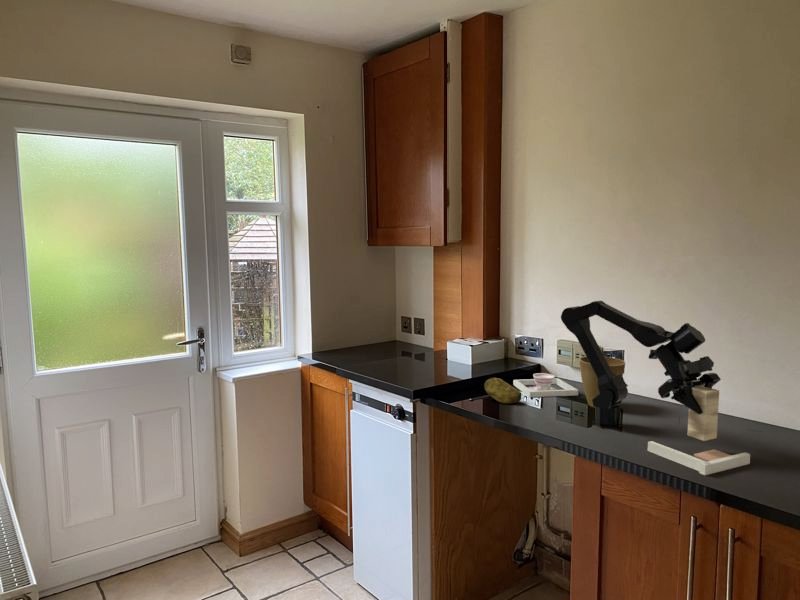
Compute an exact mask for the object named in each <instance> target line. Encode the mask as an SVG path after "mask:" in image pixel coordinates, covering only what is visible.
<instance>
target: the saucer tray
mask: <svg viewBox="0 0 800 600" xmlns="http://www.w3.org/2000/svg"><path fill="white" fill-rule="evenodd" d="M512 383H513V384H512V385H513V387H515V388H516V389H517V390H519V391H520V392H522V393H524V394H525V395H527V396H528V397H529V398H543V397H544V398H546V397H567V396H568V397H570V396H579V389H578V388H575V387H574V386H572V385H570V384H569V383H567V382H566V381H564V380H563V379H560V378H558V377H557V378H556V377H554V379H553V380H552V383H551V385H558V386H559V387H561V388H562V389H558V390H544V391H539V390H537V391H531V390H530V389H529V387H527V386H536V383H535V380H534V378H531V379H529V378H528V379H513V381H512Z"/></svg>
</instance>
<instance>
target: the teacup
mask: <svg viewBox="0 0 800 600" xmlns="http://www.w3.org/2000/svg"><path fill="white" fill-rule="evenodd" d="M532 376H533V379H534V380H535V383H536V385H533V386H530V387H528V388H529V389H530V390H531V391H544V390H559V389H557V388H555V387H552V384H551V383H552V380H553V379H554V378H556V375H554V374H550V373H544V372H541V373H540V372H539V373H538V372H537V373H533V374H532Z"/></svg>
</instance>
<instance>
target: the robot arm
mask: <svg viewBox="0 0 800 600" xmlns="http://www.w3.org/2000/svg"><path fill="white" fill-rule="evenodd" d="M594 316H597V317H598V318H601V319H603V320H605V321H606V322H609V323H611V324H613V325H615V326H616V327H618V328H620V329H622V330H624V331H626V332H627V333H628V334H630V335H631V336H632V337H633V338H634V340H635V341H637V342H639V344H641V345H642V346H644V347H646V348H652V347H656V346H658V345H660V346H658V347H657V348H655V349H650V350H649V354H648V359H649V360H657V359H658V361H659V362H660V364H661V365H662V366H663V368H664V369H665V372H663V374H664V375H665V376H666V377H670V378H668V379H667V380H666V381H665V382H663V383H662V384H661V385H660V386H659V387H658V388H657V393H658V395H659V396H660V398H661V399H667V398H669V397H670V396H671V392H672V396H671V397H670V399H671V400H675V401H676V402H678V403H680V404H682V405H683V406H685V407H687V408H688V409H689V408H690V409H691V410H693V411H694V412H696V413H698V414H702V413H703V412H702V410H701V408H700V406H699V404H698V403H697V401H696V399H695V398H694V396H693V394H692V388H694V387H700V386H704V387H708V388H712V389H713V387H714V386H715V385H716V384H717V383H719V382H720V381H721V379H722V378H721V377H720V376H719V375H718V374H717V373H716V372H710V371H713V368H714V363H715V362H714V361H713V360H712V359H711V357H710V356H708V355H706V356H703V357H699V359H697V360H694V361H691V360H689V359H686V360H685V358H684V357H683V355H682V354H685V355H687V354H690V353H691V352H693V351H694V350H696V349H697V348H698V347H700V346H702V344H704V343H705V342H706V338H705V336H704V334H703V333H702V332H701V331H700V330H698V329H697V328H696V327H694V326H693V325H692V326H691V324H690V323H688V322H687V323H683V324H682V325H681V327H680V328H679V329H678V330H676V331H674V332H672V331H669V330H666V329H665V328H664V327H663V326H661V325H659V324H655V323H652V322H648V321H644V320H640V319H637V318H635V317H633V316H631V315H629V314H627V313H625V312H623V311H621V310H619V309H617V308H615V307H613V306H612V305H609V304H608V303H606V302H605V301H603V300H594V301H591V302H590V303H589V302H588V303H586V304H584V305H581V306H579V305H577V306H571V307H567V308H564V309H563V310H562V311H561V315H560V319H561V322H562V323H563V324H564V326H565V328H566V329H567V330H568V331H569V332H570V333H572V335H574V336H575V337H576V339H577V341H578V343H579V345H580V347H581V349H582V351H583V353H584V354H585V356H586V357H587V359H588V361H589V363H590V364H591V366H592V368H593V370H594V372H595V374H596V376H597V383H598V390H599V393H600V394H599V395H598V396H596V397H595V398H594V399H593V400H592V402H593V405H594V407H595V408H594V407H593V408H594V419H592V420H591V421H592V424H594V425H596V426H597V427H599V428H601V429H614V428H616V429H617V428H622V425H621V424H620V423H621V410H620V405H621V404H622V402H623V400H625V399H626V398H627V397H628V393H629V390H628V387H629V385H628V384H627V383H626V381H625V379H624V377H623V376H624V375H623V376H622V375H621V374H619V375H616V374H614V373H613V372H612V370H611V369H610V367H609V365H608V363H607V361H606V359H605V357H606V356H605V355H604V354H603V352H602V350H601V347H600V346H599V344H598V342H597V340H596V338H595V336H594V334H593V332H592V330H591V320H590V318H592V317H594ZM667 342H668V343H667ZM664 343H666V344H664ZM708 371H709V373H704V372H708ZM702 373H704V374H702Z"/></svg>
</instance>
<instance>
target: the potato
mask: <svg viewBox="0 0 800 600" xmlns="http://www.w3.org/2000/svg"><path fill="white" fill-rule="evenodd" d="M483 385H484V390H485V391H486V393H487V394H488V396H490V397H491V398H492V399H494V400H495V401H496V402H498V403H502V404H516V403H519V402H520V401H521V400H522V394H521V391H520V390H519V389H518V388H517V387H515V386H512V384H510V383H508V382H506V381H505V380H503V379H501V378H497V377H490V378H489V379H487V380H485V382H484V383H483Z"/></svg>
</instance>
